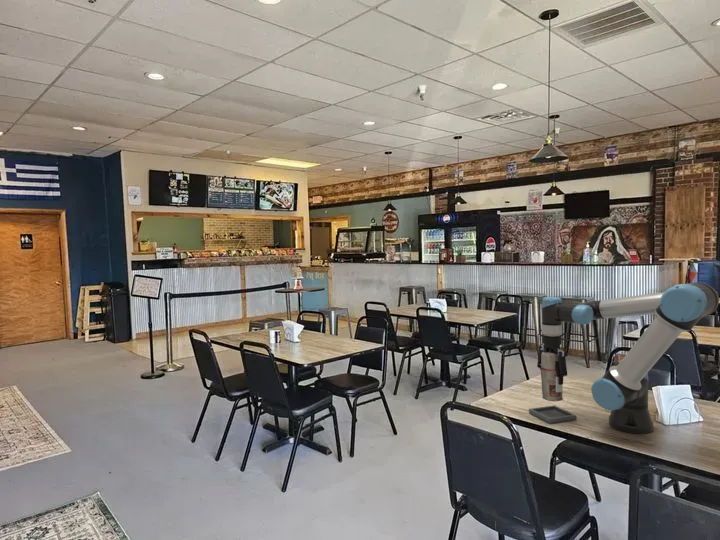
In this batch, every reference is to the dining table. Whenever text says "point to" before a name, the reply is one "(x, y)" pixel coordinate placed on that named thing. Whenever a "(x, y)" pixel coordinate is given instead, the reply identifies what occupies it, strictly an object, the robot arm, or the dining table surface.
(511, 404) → the dining table surface
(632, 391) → the robot arm
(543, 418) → the tray
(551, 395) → the spray can
